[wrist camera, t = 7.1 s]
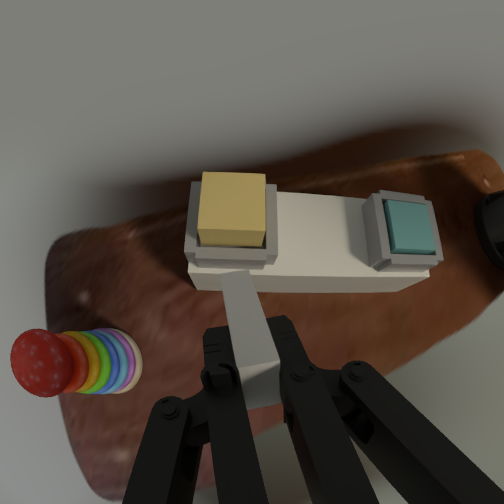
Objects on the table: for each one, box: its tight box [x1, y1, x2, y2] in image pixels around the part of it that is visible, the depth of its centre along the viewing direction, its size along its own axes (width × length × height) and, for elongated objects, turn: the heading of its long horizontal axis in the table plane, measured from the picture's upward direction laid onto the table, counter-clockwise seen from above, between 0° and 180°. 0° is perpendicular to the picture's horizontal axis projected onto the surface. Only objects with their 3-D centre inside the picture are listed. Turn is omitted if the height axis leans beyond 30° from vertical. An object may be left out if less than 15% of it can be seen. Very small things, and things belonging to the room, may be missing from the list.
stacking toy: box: [11, 328, 142, 397], centre depth 22 cm, size 8×8×19 cm
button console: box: [184, 180, 444, 293], centre depth 32 cm, size 26×9×11 cm, turn 89°
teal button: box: [383, 200, 436, 255], centre depth 28 cm, size 5×5×4 cm
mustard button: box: [197, 172, 266, 247], centre depth 25 cm, size 5×5×4 cm
